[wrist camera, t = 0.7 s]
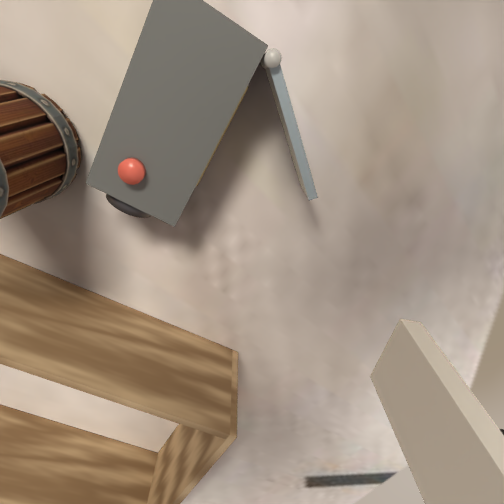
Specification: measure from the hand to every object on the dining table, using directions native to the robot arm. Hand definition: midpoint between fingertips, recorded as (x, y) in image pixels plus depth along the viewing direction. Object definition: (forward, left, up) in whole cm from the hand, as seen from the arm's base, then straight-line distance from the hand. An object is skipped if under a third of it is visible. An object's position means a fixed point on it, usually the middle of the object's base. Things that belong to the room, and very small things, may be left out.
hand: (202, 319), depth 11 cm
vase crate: (+35, -7, -25) cm, 43 cm away
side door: (-5, +3, -25) cm, 26 cm away
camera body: (-1, -6, -25) cm, 26 cm away
